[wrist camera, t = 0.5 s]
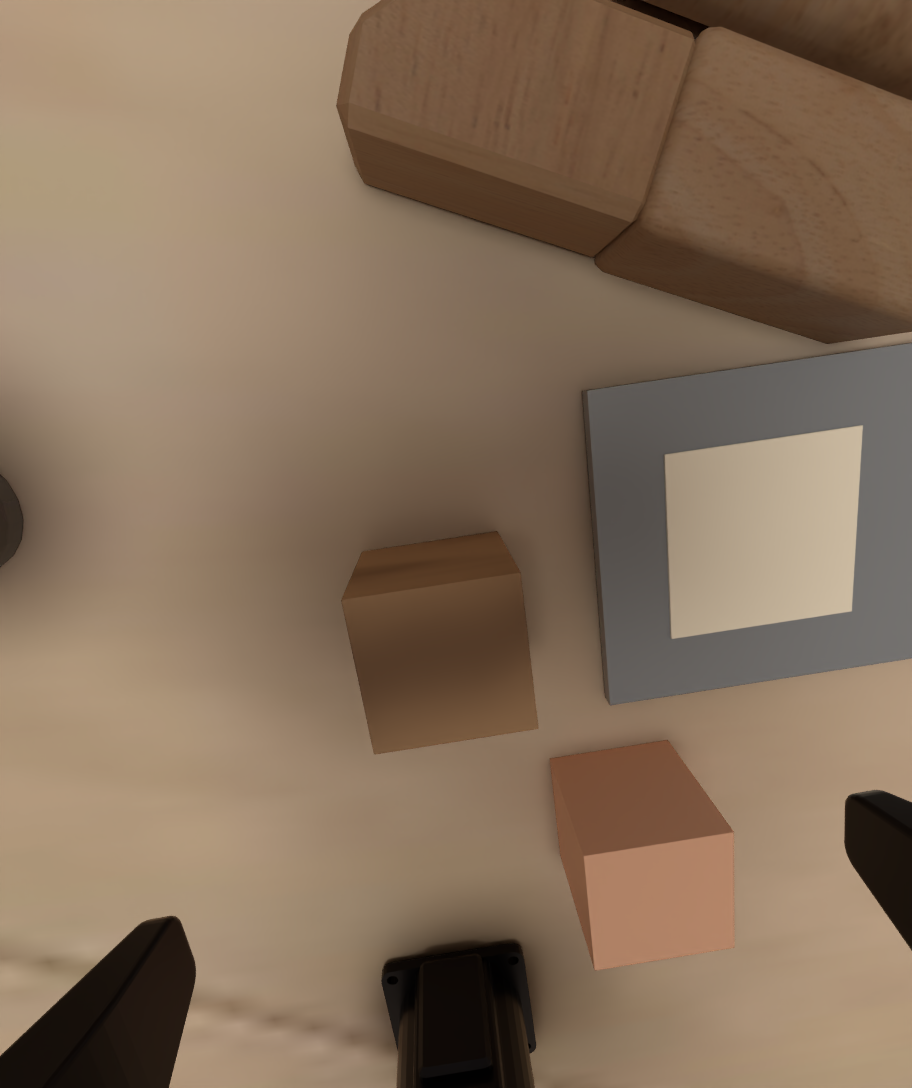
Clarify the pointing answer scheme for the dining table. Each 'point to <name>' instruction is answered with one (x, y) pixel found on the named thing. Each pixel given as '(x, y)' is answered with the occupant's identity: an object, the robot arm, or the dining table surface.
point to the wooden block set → (661, 142)
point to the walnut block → (440, 642)
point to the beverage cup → (9, 522)
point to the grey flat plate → (752, 522)
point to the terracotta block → (643, 855)
